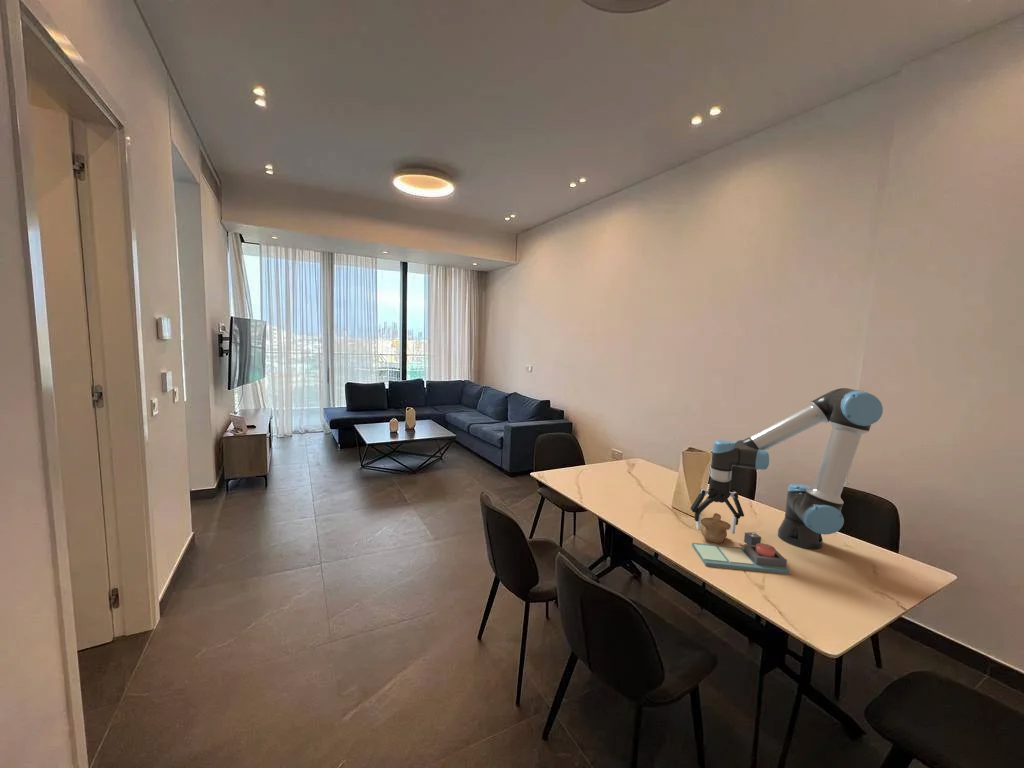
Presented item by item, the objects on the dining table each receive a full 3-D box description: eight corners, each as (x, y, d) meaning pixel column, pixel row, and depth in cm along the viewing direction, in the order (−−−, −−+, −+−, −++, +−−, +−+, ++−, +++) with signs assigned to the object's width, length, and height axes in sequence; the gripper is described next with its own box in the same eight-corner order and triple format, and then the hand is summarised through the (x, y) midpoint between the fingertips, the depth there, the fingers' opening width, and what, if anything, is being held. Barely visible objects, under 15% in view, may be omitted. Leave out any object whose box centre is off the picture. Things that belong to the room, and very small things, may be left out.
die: (752, 541, 166) (753, 531, 166) (760, 546, 162) (761, 536, 162) (743, 542, 165) (744, 532, 165) (751, 546, 161) (752, 536, 161)
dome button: (768, 554, 153) (770, 544, 152) (777, 562, 147) (778, 552, 146) (751, 552, 153) (753, 542, 153) (759, 560, 147) (760, 550, 147)
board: (768, 552, 157) (769, 543, 157) (789, 574, 142) (791, 564, 142) (691, 545, 160) (692, 536, 160) (705, 565, 145) (706, 555, 145)
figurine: (726, 536, 170) (732, 507, 164) (726, 552, 162) (732, 522, 156) (698, 529, 174) (703, 500, 168) (697, 544, 167) (702, 514, 161)
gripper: (748, 478, 166) (743, 529, 168) (685, 473, 169) (680, 523, 171) (757, 485, 159) (751, 537, 161) (691, 479, 161) (686, 531, 164)
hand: (715, 530), depth 166 cm, fingers open, 12 cm apart
